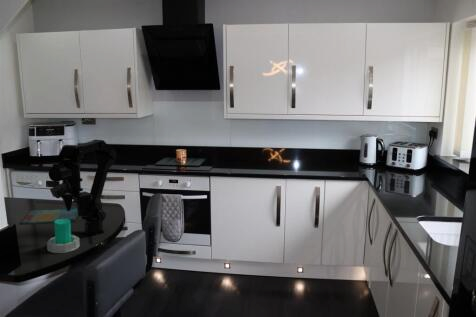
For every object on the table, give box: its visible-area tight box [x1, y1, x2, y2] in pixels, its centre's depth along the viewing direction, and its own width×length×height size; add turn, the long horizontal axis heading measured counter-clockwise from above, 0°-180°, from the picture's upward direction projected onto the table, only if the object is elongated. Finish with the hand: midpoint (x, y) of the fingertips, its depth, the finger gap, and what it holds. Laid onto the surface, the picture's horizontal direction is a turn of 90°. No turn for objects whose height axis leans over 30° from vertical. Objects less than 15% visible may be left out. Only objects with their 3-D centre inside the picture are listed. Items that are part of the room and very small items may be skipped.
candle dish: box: [46, 234, 81, 254], centre depth 159 cm, size 12×12×3 cm
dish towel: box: [21, 207, 78, 225], centre depth 193 cm, size 17×23×2 cm
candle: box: [53, 218, 72, 244], centre depth 158 cm, size 6×6×12 cm
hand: (74, 213), depth 161 cm, fingers open, 9 cm apart
